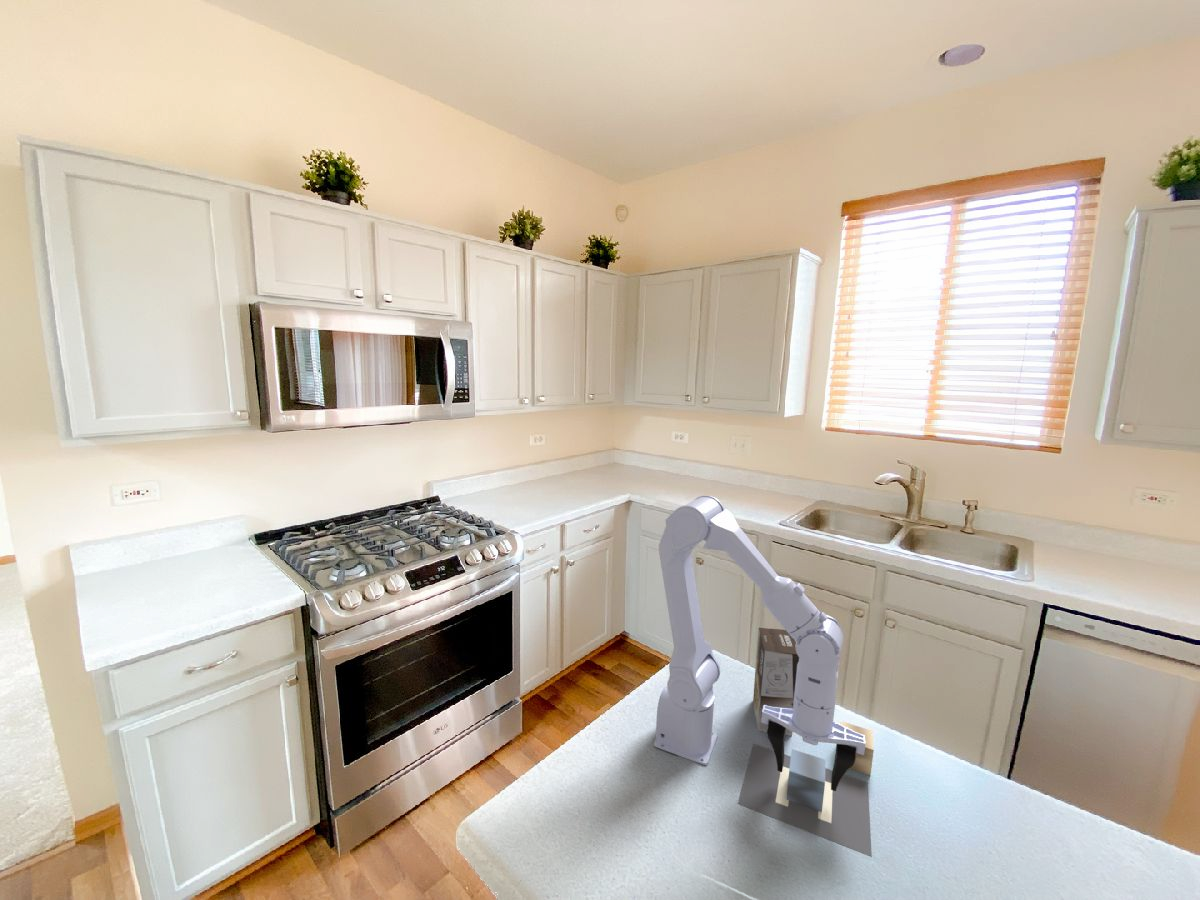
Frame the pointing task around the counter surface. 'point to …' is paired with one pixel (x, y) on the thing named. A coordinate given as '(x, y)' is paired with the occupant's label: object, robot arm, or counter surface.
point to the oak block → (865, 761)
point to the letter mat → (837, 821)
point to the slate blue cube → (806, 780)
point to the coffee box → (774, 673)
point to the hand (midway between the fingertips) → (806, 776)
